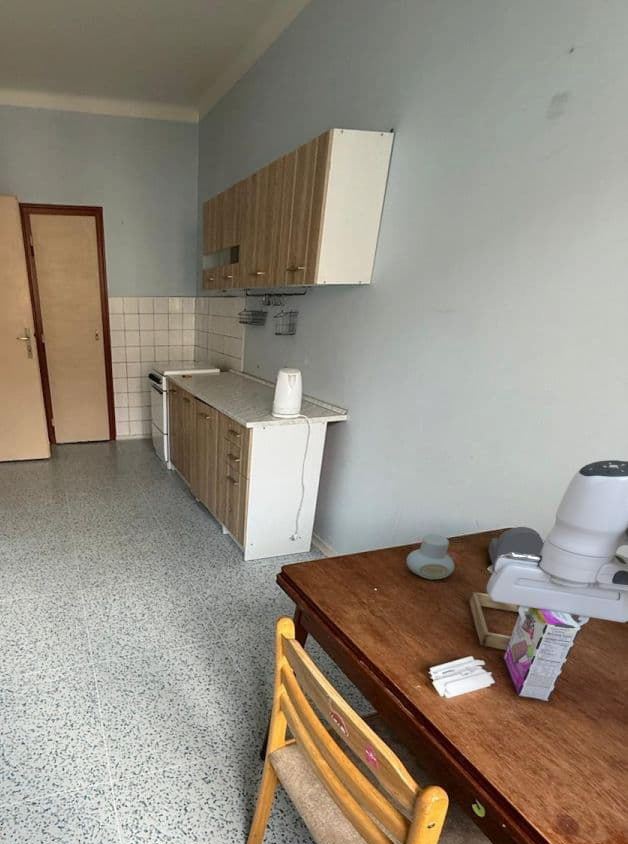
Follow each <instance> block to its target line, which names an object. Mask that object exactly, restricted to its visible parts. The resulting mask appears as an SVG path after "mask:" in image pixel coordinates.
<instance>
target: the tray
mask: <svg viewBox="0 0 628 844" xmlns="http://www.w3.org/2000/svg"><path fill="white" fill-rule="evenodd" d="M471 592H472V593H471V595H470V599H469V601H468V602H469V606H470V610H471V614H472V617H473V622H474V625H475V629H476V632H477V636H478V639H479V643H480V646H484V647H489V648H494V649H498V650H504V651H506V649H507V646H508V643H509V641H510V638H511V635H505V634H500V633H495V632H490V631H489V629H488V626H487V622H486V619H485V616H484V613H483V610H482V607H485V608H491V609H497V610H504V611H508V612H515V613H519V612H518V609H517V607H516V605H513V604H507V603H501V602H495V601H492V600H491V598H490V597H489V595H488V593H482V592H478V591H477V592H476V591H471Z"/></svg>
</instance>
